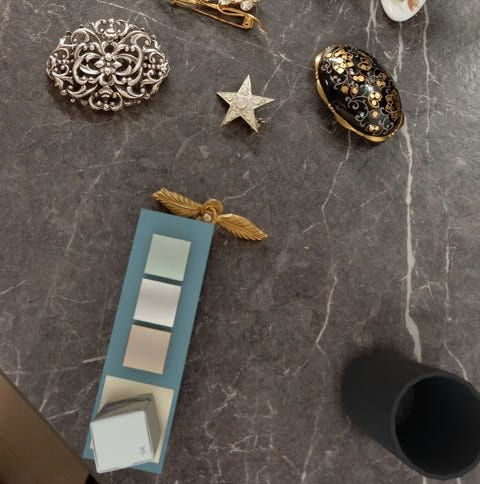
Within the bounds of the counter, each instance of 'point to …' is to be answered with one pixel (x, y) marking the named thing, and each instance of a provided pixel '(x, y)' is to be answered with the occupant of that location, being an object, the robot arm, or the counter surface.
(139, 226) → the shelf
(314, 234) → the counter surface
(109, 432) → the box
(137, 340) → the block line
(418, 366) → the vase
